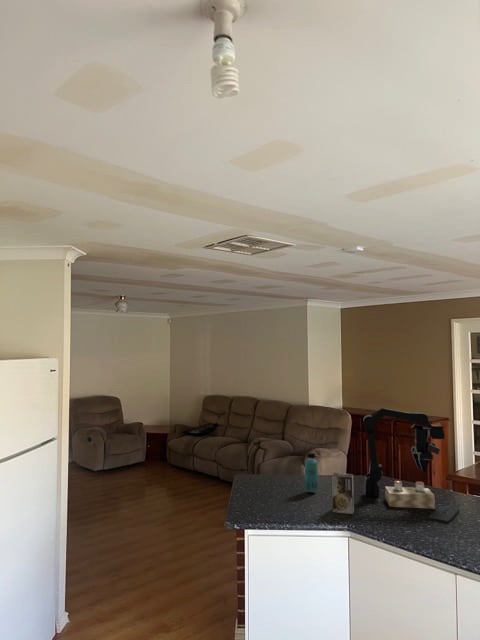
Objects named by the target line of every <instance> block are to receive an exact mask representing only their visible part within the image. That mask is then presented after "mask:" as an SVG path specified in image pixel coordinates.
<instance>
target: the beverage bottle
mask: <svg viewBox="0 0 480 640" xmlns="http://www.w3.org/2000/svg"><path fill="white" fill-rule="evenodd" d="M306 458H308V459H306V460H305V461H304V463H305V464H304V467H305V468H304V469H305V470H304V490H305V491H307V492H316V491H318V461H317V460H316V459H315V458H316V453H314V452H308V453H307V457H306Z"/></svg>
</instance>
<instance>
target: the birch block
mask: <svg viewBox="0 0 480 640" xmlns="http://www.w3.org/2000/svg"><path fill="white" fill-rule="evenodd" d="M384 487H385V488H384V489H385V493H384V497H385V500H386V503H387V504H388V506H389V507H393V508H410V509H411V508H415V509H433V510H434V509H436V508H435V507H436V505H435V503H436V501H435V498H436V497H435V494H434V493H433V492H432V491H431V489H429V488H428V487H424V493H421V492H416V487H409V486H405V487H404V486H402V492H398V491H394V486H386V485H385V486H384Z"/></svg>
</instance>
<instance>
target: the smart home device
mask: <svg viewBox="0 0 480 640" xmlns="http://www.w3.org/2000/svg"><path fill="white" fill-rule="evenodd" d="M458 514H460V509H459V508H454V507H450V506H444V505H440V506H439V507H438V508H437V509H436V510H435V511H433V512H432V513H431V514H430V515H429V516H428V521H433V522H438V523H442V524H450V522H451V521H453V520H454V519H455V517H456V516H457V515H458Z"/></svg>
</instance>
